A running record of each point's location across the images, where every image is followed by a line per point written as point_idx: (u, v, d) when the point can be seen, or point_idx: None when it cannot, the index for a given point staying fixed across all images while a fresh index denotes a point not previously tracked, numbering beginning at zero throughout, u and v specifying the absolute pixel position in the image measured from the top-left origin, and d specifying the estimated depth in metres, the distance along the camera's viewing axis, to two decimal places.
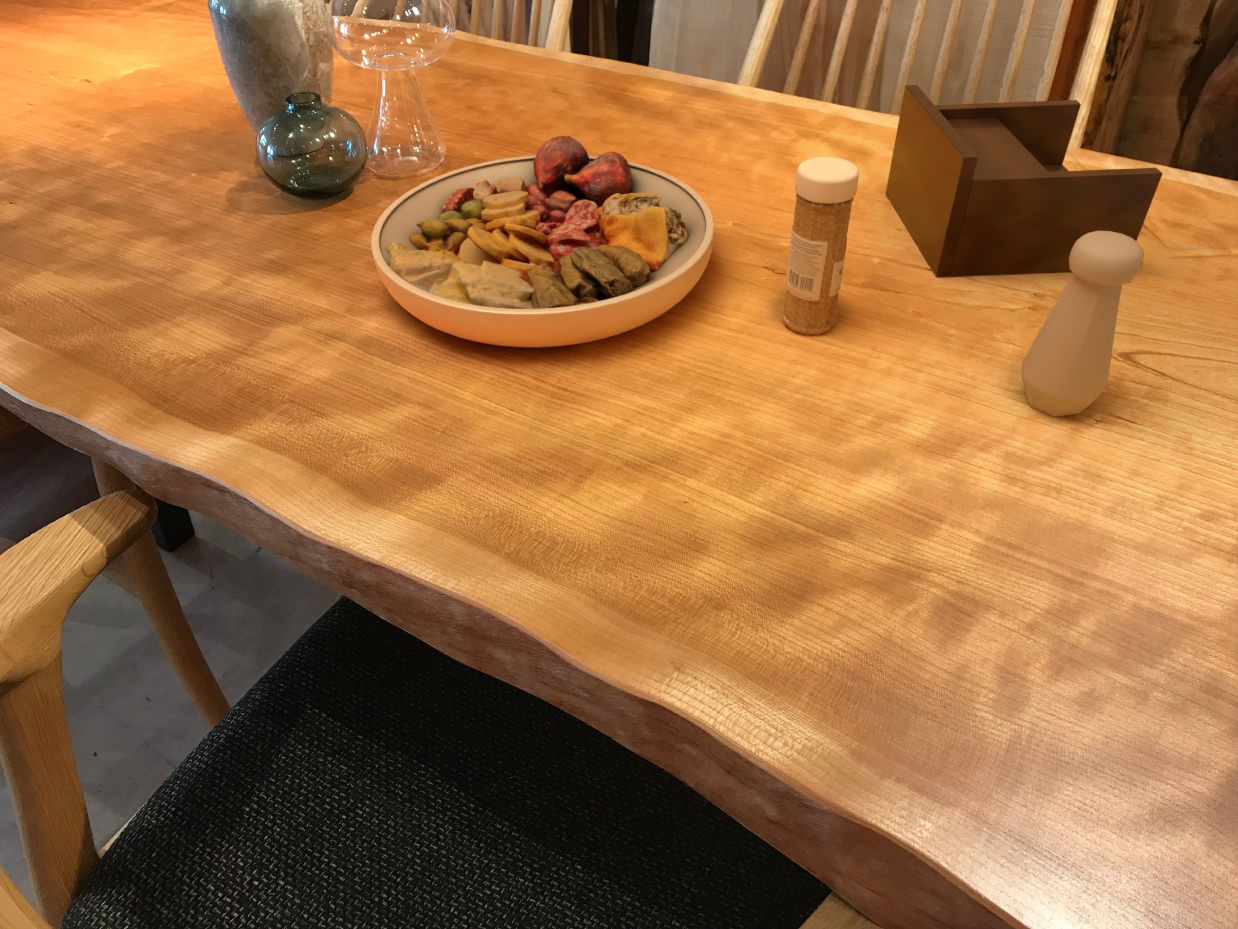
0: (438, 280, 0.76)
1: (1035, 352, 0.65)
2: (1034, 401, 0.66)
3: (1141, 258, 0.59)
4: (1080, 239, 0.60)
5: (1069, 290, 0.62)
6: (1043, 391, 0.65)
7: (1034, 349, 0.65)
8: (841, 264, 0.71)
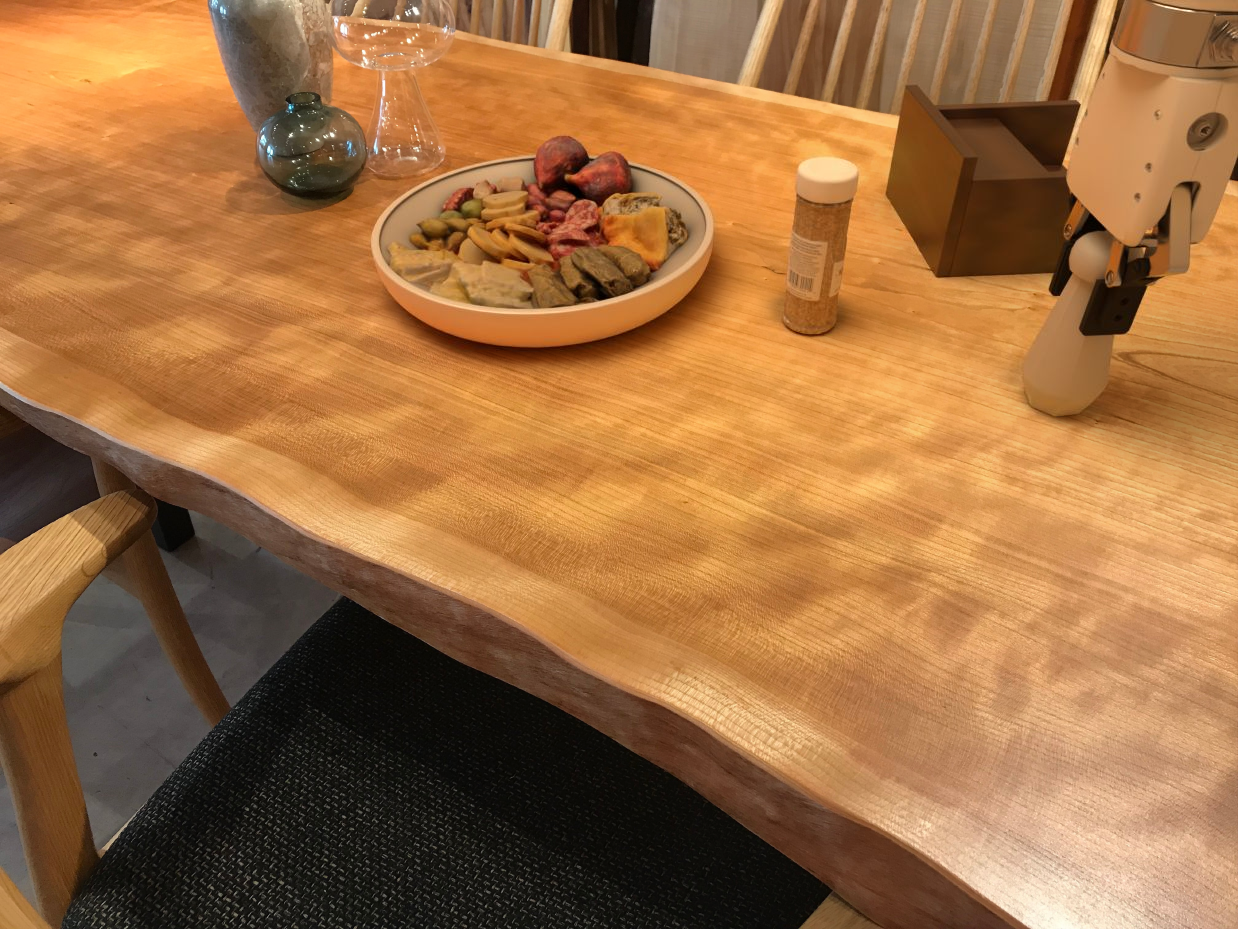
0: (438, 279, 0.76)
1: (1035, 352, 0.65)
2: (1034, 401, 0.66)
3: None
4: (1080, 239, 0.60)
5: (1069, 290, 0.62)
6: (1043, 391, 0.65)
7: (1034, 349, 0.65)
8: (841, 264, 0.71)
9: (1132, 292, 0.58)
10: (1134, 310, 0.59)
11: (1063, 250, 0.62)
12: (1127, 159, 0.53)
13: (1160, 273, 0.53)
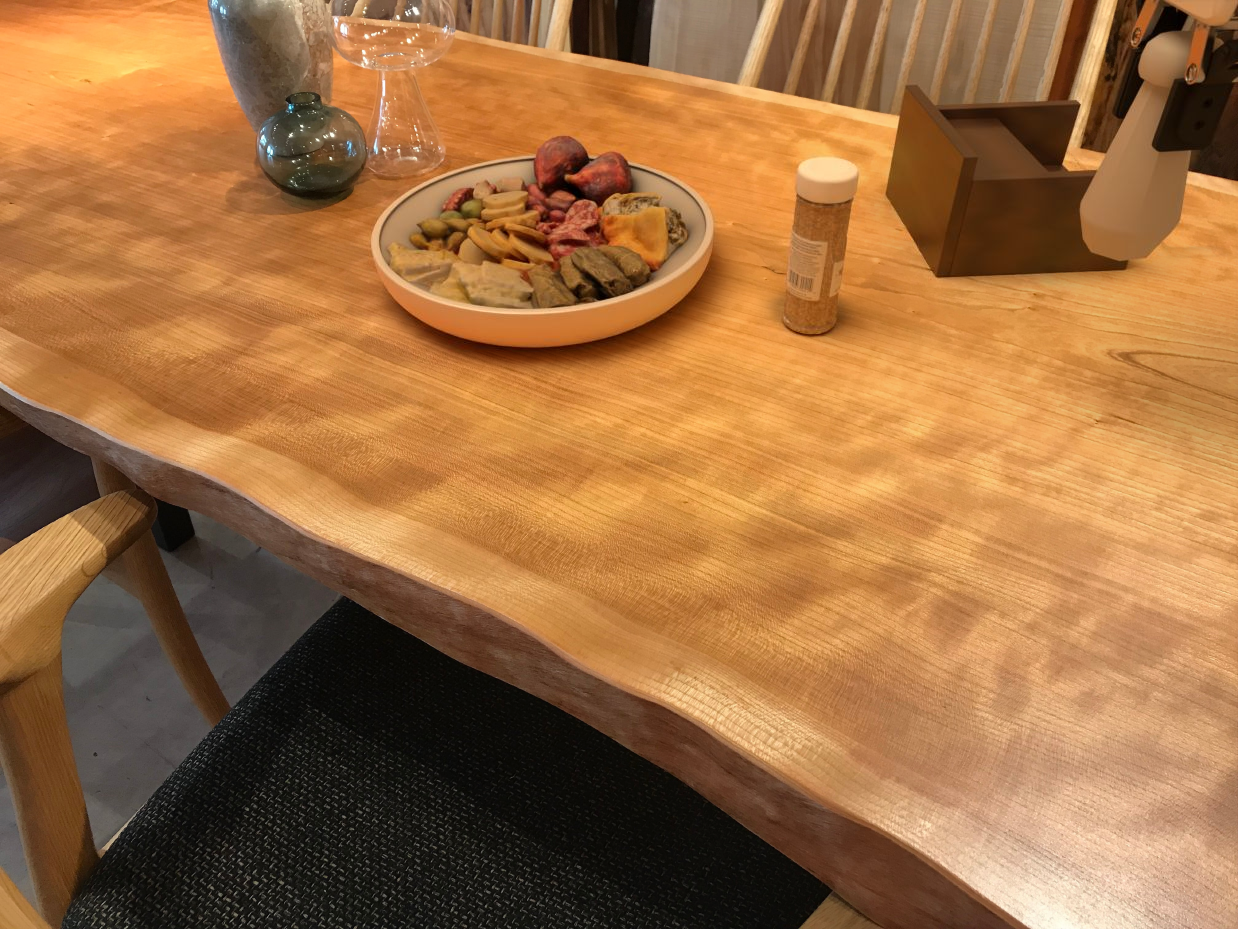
0: (438, 279, 0.76)
1: (1098, 184, 0.57)
2: (1095, 244, 0.59)
3: None
4: (1152, 39, 0.52)
5: (1138, 104, 0.54)
6: (1107, 228, 0.57)
7: (1096, 182, 0.57)
8: (841, 264, 0.71)
9: (1217, 90, 0.50)
10: (1217, 117, 0.52)
11: (1131, 59, 0.54)
12: None
13: None
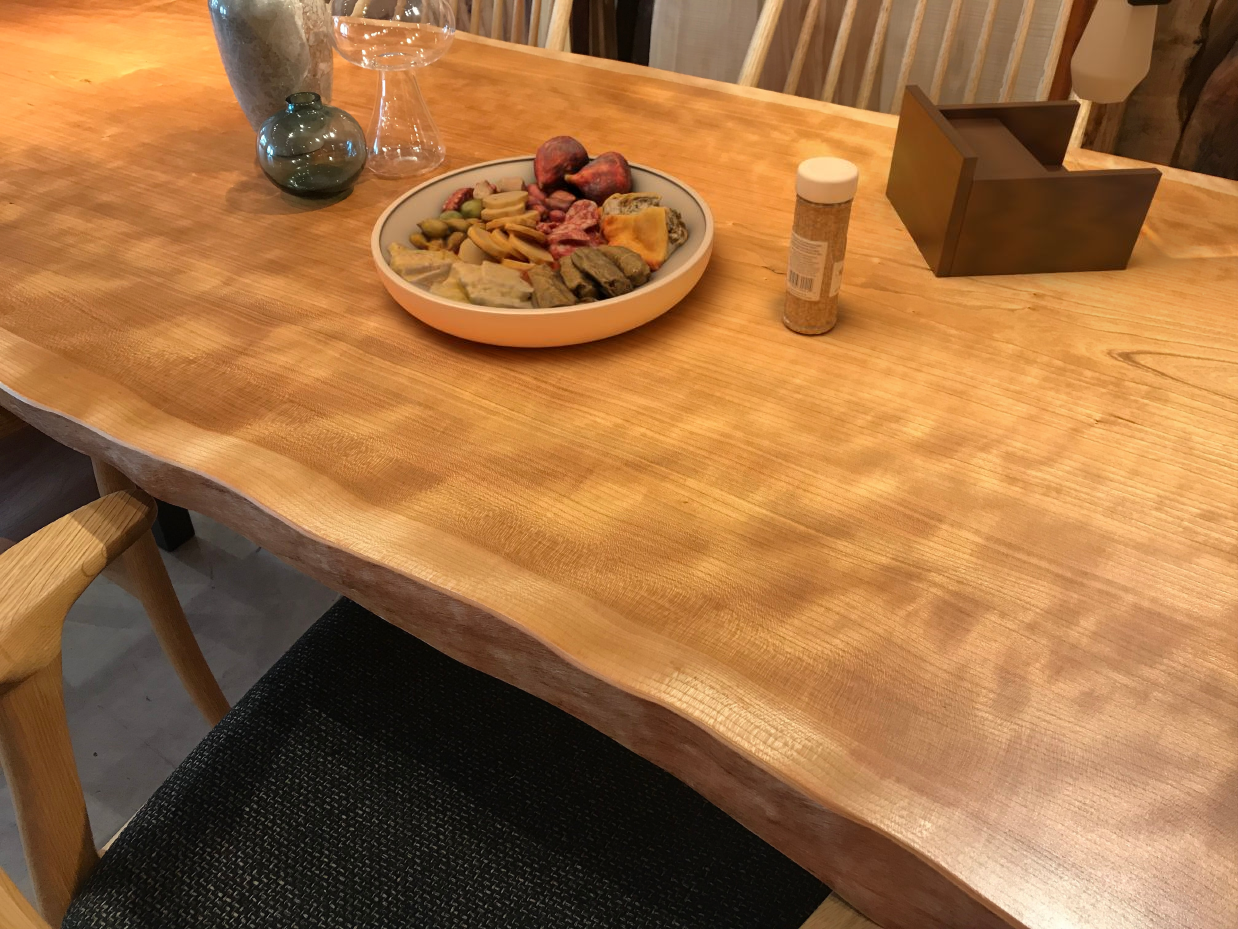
0: (438, 279, 0.76)
1: (1085, 40, 0.72)
2: (1083, 91, 0.74)
3: None
4: None
5: None
6: (1093, 74, 0.72)
7: (1083, 39, 0.73)
8: (841, 264, 0.71)
9: None
10: None
11: None
12: None
13: None
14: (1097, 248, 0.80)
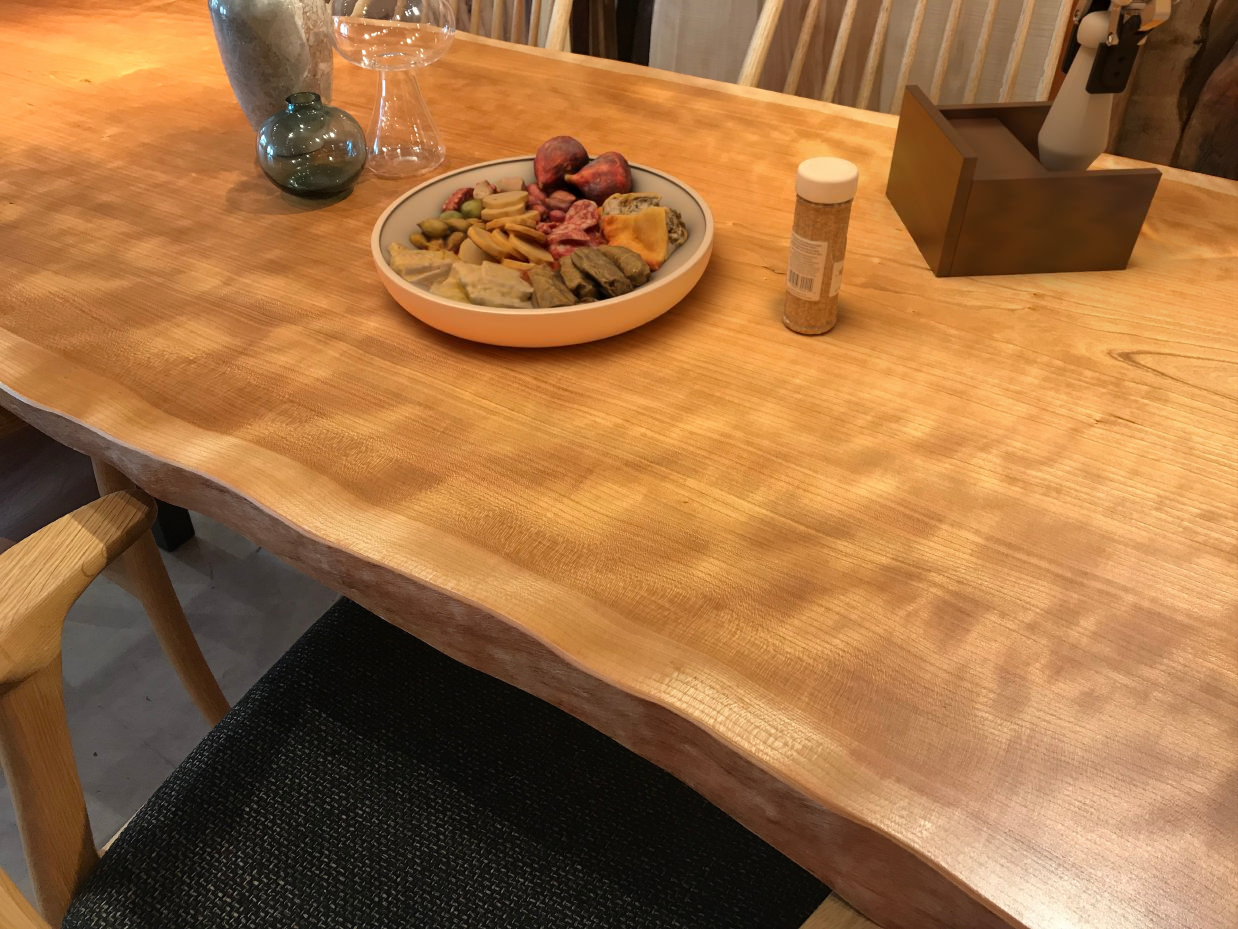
0: (438, 279, 0.76)
1: (1050, 119, 0.81)
2: (1048, 163, 0.83)
3: None
4: (1086, 16, 0.76)
5: (1077, 61, 0.78)
6: (1056, 150, 0.81)
7: (1048, 118, 0.82)
8: (841, 264, 0.71)
9: (1127, 50, 0.74)
10: (1129, 70, 0.76)
11: (1073, 31, 0.79)
12: None
13: (1148, 21, 0.70)
14: (1097, 248, 0.80)
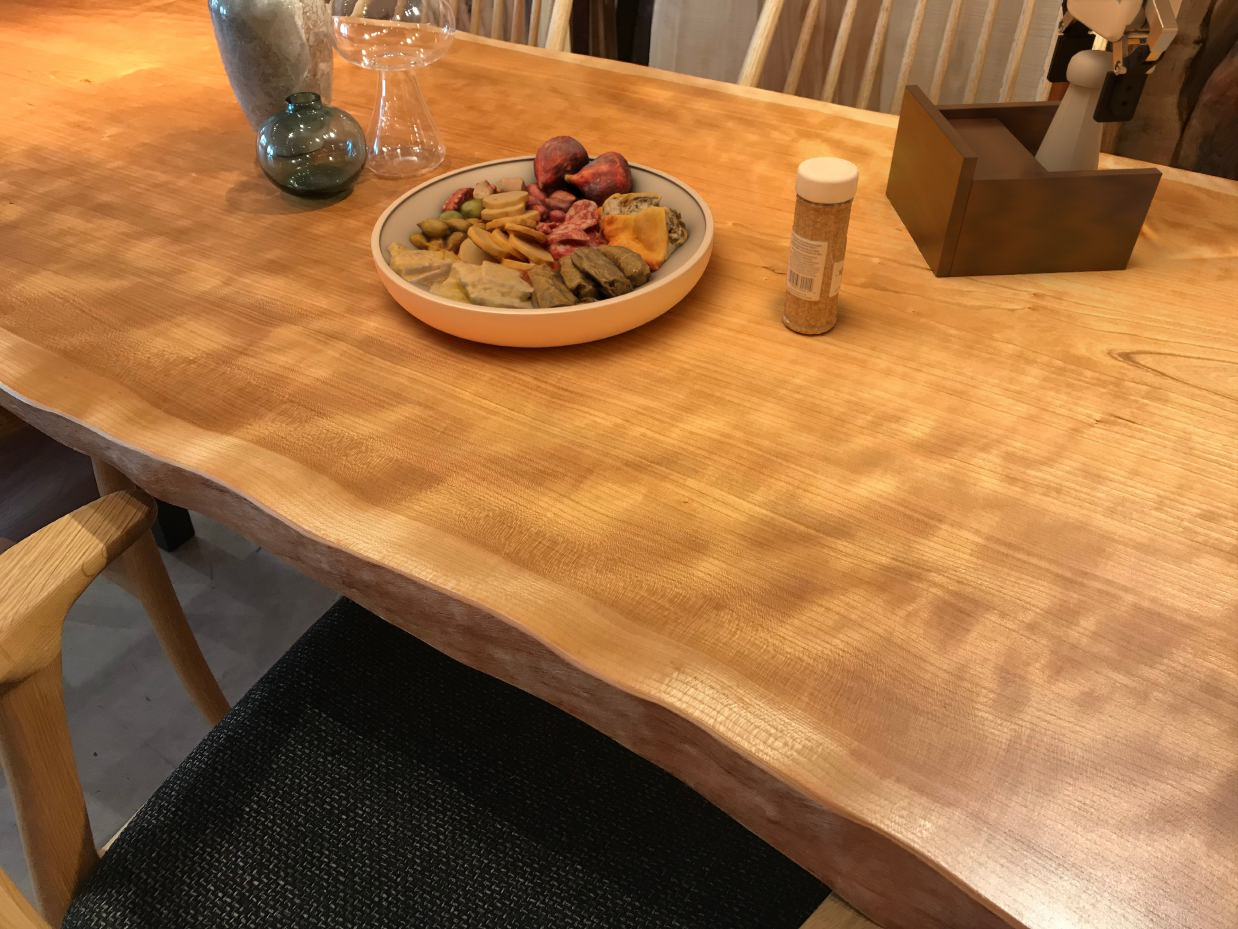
0: (438, 280, 0.76)
1: (1041, 153, 0.83)
2: None
3: None
4: (1075, 55, 0.79)
5: (1066, 98, 0.80)
6: None
7: (1039, 152, 0.84)
8: (841, 264, 0.71)
9: (1135, 79, 0.73)
10: (1137, 98, 0.75)
11: (1057, 42, 0.81)
12: None
13: (1157, 38, 0.69)
14: (1097, 248, 0.80)
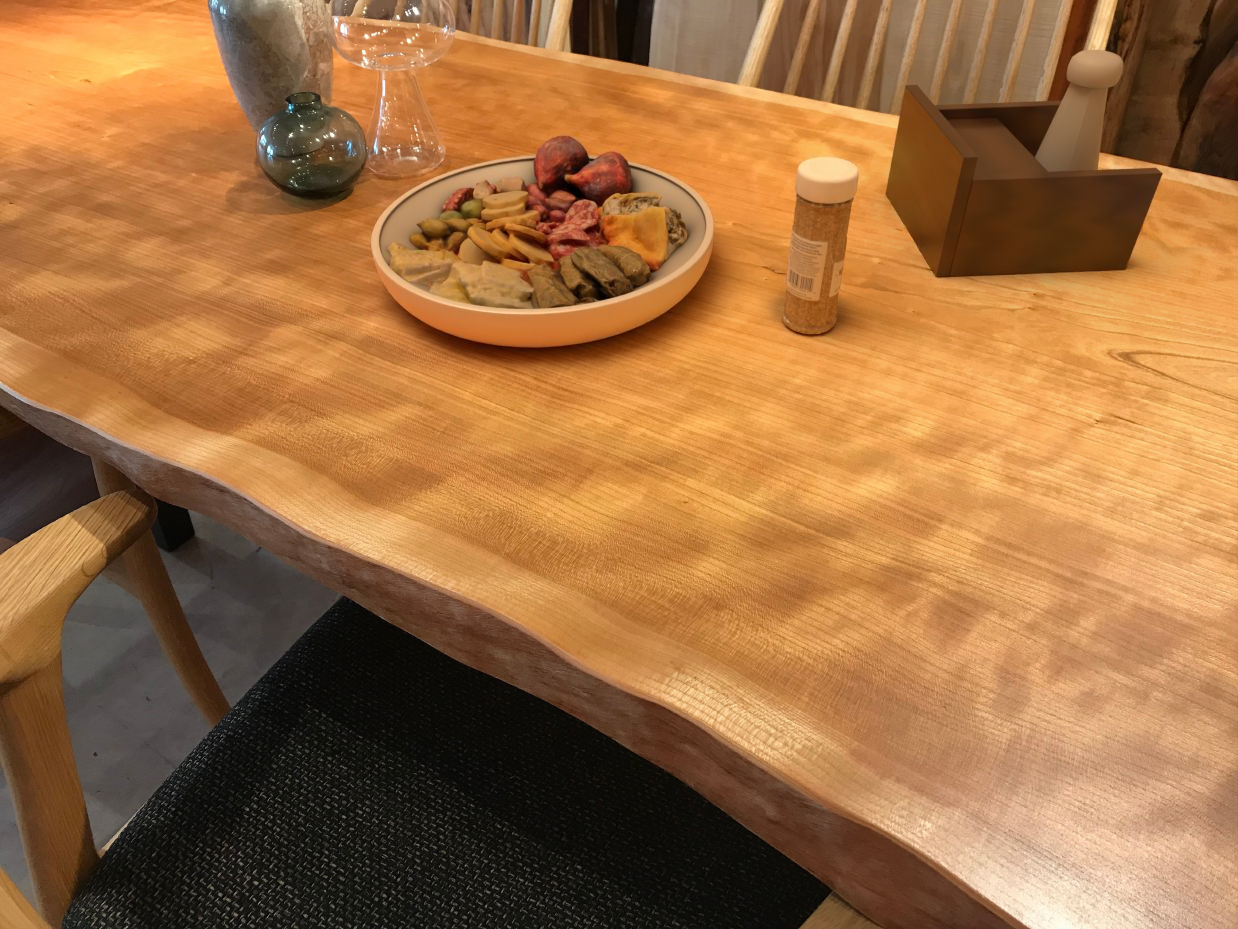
0: (438, 279, 0.76)
1: (1041, 153, 0.83)
2: None
3: (1121, 66, 0.77)
4: (1075, 55, 0.79)
5: (1066, 98, 0.80)
6: None
7: (1039, 152, 0.84)
8: (841, 264, 0.71)
9: None
10: None
11: None
12: None
13: None
14: (1097, 248, 0.80)
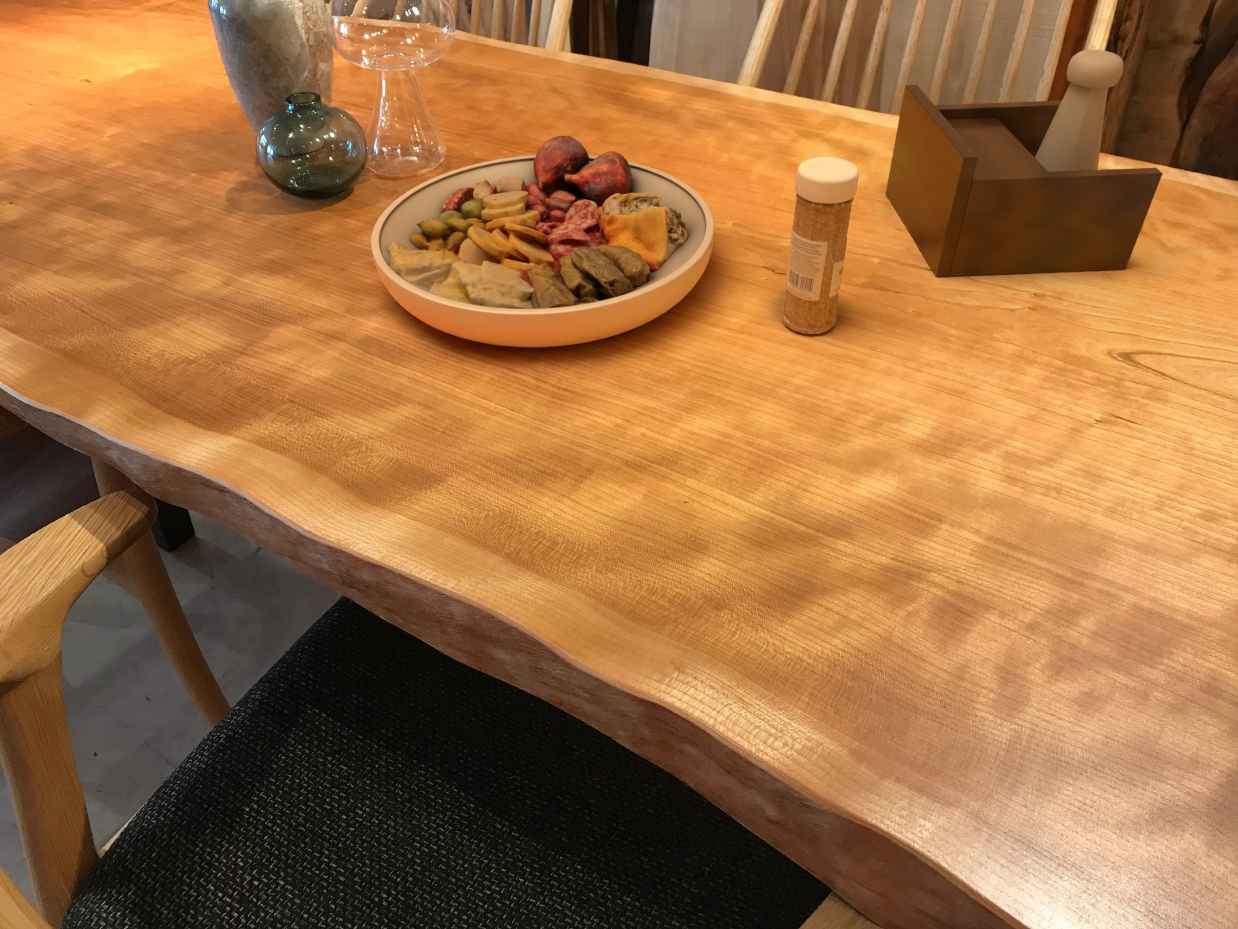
0: (438, 279, 0.76)
1: (1041, 153, 0.83)
2: None
3: (1121, 66, 0.77)
4: (1075, 55, 0.79)
5: (1066, 98, 0.80)
6: None
7: (1039, 152, 0.84)
8: (841, 264, 0.71)
9: None
10: None
11: None
12: None
13: None
14: (1097, 248, 0.80)
